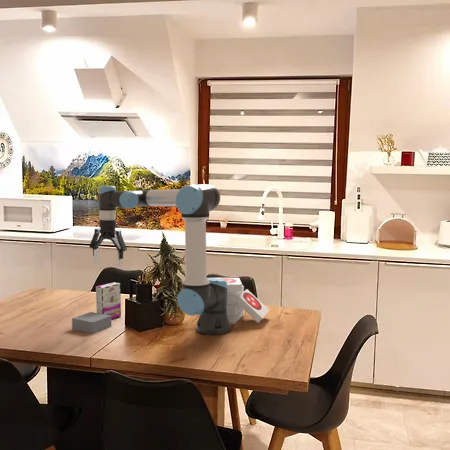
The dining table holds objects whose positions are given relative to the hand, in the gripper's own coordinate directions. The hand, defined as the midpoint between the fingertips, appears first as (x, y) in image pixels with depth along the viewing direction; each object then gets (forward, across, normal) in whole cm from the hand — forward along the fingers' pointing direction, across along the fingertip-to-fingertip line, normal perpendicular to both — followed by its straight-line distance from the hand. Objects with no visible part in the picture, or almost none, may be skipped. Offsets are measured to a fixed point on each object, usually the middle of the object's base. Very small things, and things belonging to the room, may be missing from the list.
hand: (107, 264), depth 248 cm
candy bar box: (+26, 0, 0) cm, 26 cm away
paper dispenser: (+26, -52, -30) cm, 66 cm away
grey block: (+26, -3, +15) cm, 30 cm away
